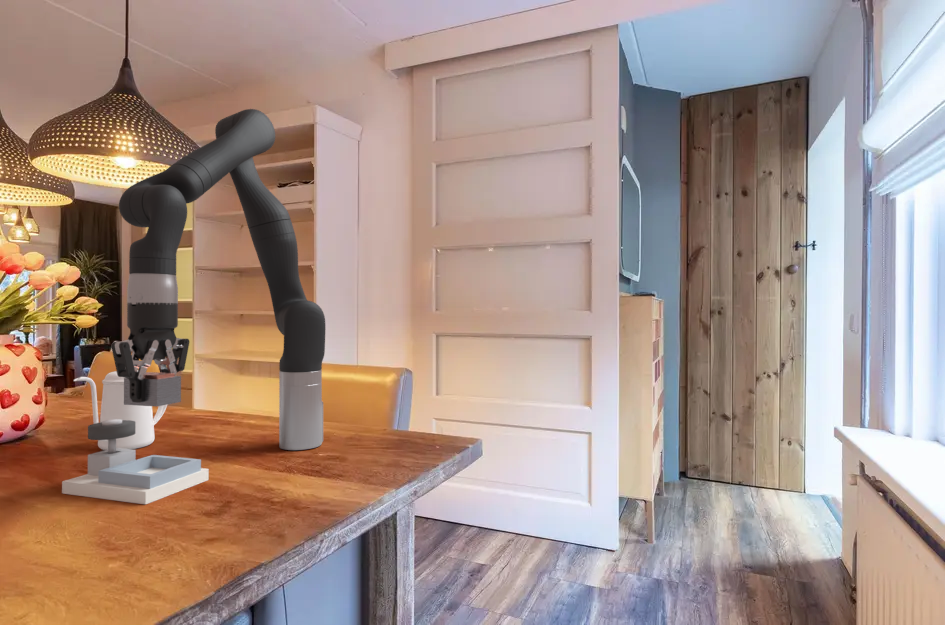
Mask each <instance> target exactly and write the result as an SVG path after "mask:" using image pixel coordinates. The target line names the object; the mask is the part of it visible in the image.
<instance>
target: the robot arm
mask: <svg viewBox="0 0 945 625" xmlns="http://www.w3.org/2000/svg"><path fill="white" fill-rule="evenodd" d="M214 132H215V133H214V134H215V139H214V140H213V141H210V142H207V143H206V144H204V145H202V146H200V147H198V148H196V149H195V150H193V151H191V152H189V153H188V154H186V155H184V156H183V157H182V158H180V159H179V160H176V162H174V163H173V164H171V165H170V166H168V168H166V169H164V170H163V171H162V172H158V173H156V174H154V175H151V176H150V177H146V178H145V179H142V180H140V181H138V182H136V183H134V184H132V185H131V186H130V187H128V188H127V189H126V190H125V191H124V192H123V193H122V194H121V197H120V199H119V202H118V210H119V213H120V216H121V217H122V218H123V220H124V221H125V222H126V223H128V224H129V225H132V226H134V227H138V228H147V231H146V233H145V236H144V237H142V238H141V239H138V240H136V241H134V242H132V243H131V245H130V247H129V253H128V257H129V258H128V259H129V260H128V262H129V263H128V265H129V266H128V267H129V268H128V281H127V282H128V283H127V289H126V290H127V291H126V292H127V294H126V295H127V296H126V298H127V299H126V301H127V302H126V303H127V304H126V305H127V306H126V307H127V308H126V309H127V311H126V313H127V315H126V326H127V328H128V329H129V330H130V332H129V335H128V337H127V339H124V340H122V341H113V342H112V343H111V345H110V346H111V347H110V348H111V352H112V356H113V360H114V365H115V371H117V375H118V376H119V377H125V378H128V379H129V381H130V399H132V402H138V403H140V402H144V401H145V380H143V379H144V377H145V374H146V372H148V371H147V370H148V369H149V367H151V365H152V362H154V364H156V365H157V366H158V370H159V373H175V376H177V373H179V372H183V371H184V370H185V368H186V362H187V357H188V351H189V346H190V339H189V338H179V337H177V336H176V333H175V329H176V328H178V326H179V313H178V312H179V311H178V310H179V287H178V280H177V278H178V277H177V252H178V249H179V247H180V244H181V240H182V237H183V232H184V229H185V226H186V222H187V219H188V206H187V204H190V203H193V202H195V201H197V200H198V199H200V198H201V197H202V196H203V195H204V194H205V193H206V192H208V191H209V190H210V189H211V188H213V187H214V186H215V185H216V184H217V183H219V181H221V180H222V179H223V178H224V177H226V176H227V175H230V177H231V180H232V183H233V185H234V188H235V190H236V193H237V196H238V199H239V201H240V205H241V208H242V211H243V214H244V217H245V221H246V224H247V229H248V231H249V235H250V237H251V242H252V243H253V245H252V246H253V247H254V249H255V252H256V255H257V258H258V261H259V265H260V267H261V271H262V272H263V274H264V277H265V280H266V282H267V286H268V290H269V293H270V298H271V304H272V307H273V314H274V319H275V323H276V327H277V329H278V330H279V332H280V334H282V336H283V350H282V355H281V357H280V359H279V361H278V362H279V365H278V366H279V367H278V369H279V370H278V371H279V373H278V374H279V375H278V376H279V378H278V380H279V382H278V383H279V386H278V387H279V388H278V390H279V393H278V394H279V396H278V397H279V398H278V399H279V403H278V404H279V405H278V406H279V407H278V408H279V410H278V411H279V413H278V414H279V418H278V419H279V420H278V422H279V423H278V424H279V425H278V426H279V427H278V429H279V430H278V431H279V432H278V434H279V435H278V436H279V438H278V439H279V443H278V444H279V449H281V450H286V451H287V450H288V451H303V450H309V449H310V450H311V449H315V448H317V447H320V446H321V445H322V443H323V442H324V401H323V399H322V396H323V395H322V394H323V393H322V391H323V390H322V389H323V388H322V386H323V384H322V383H323V382H322V380H323V378H322V374H323V373H322V370H323V369H322V368H323V361H324V357H325V352H326V351H325V350H326V348H325V347H326V317H325V314H324V311H323V309H322V308H321V307H320V306H319V304H317V303H316V302H314V301H311V300H309V299H307V296H306V294H305V291H304V289H303V284H302V283H301V279H300V273H299V253H298V250H299V248H298V242H297V237H296V233H295V228H294V226H293V222H292V220H291V217H290V214H289V212H288V210H287V208H286V207H285V205H284V204H283V203H282V202H281V201H280V199H278V198H277V197H276V196H275V195H274V194H273V193H272V192H271V191H270V190H269V189H268V187H266V185H265V184H264V182H263V181H262V179H261V177H260V175H259V173H258V171H257V166H256V165H255V162H254V161H255V160H254V157H256V156H259V155H261V154H264V153H266V152H268V150H271V148H273V146H274V144H275V141H276V129H275V127H274V124H273V122H272V121H271V119H270V117H268V116H267V114H265V113H264V112H262V111H260V110H259V109H256V108H255V109H254V108H249V109H247V108H246V109H243V110H241V111H238V112H235V113H234V114H230V115H229V116H225V117H223V118H222V119H220V120H218V121H217V123H216V125H215V129H214ZM137 370H138V372H137Z"/></svg>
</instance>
